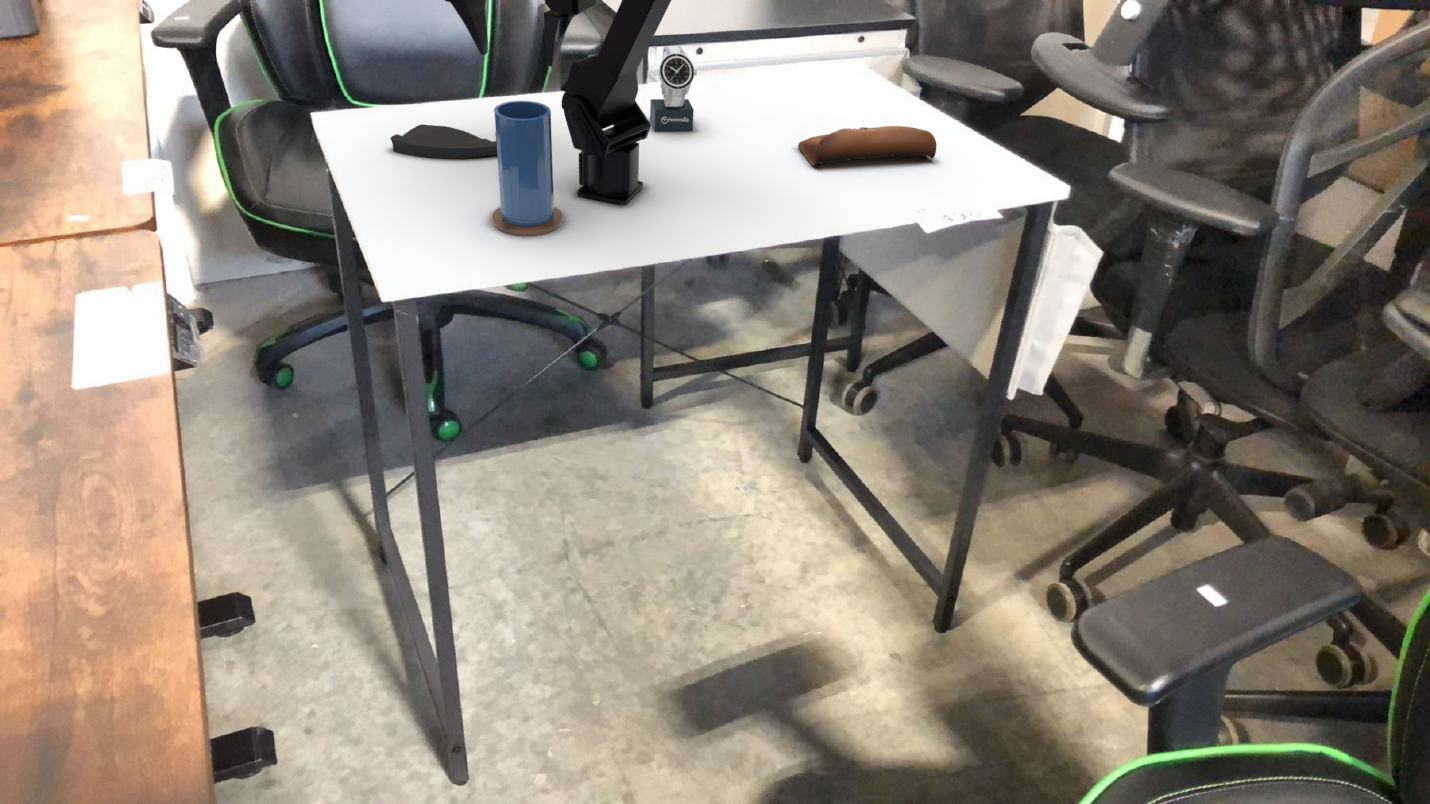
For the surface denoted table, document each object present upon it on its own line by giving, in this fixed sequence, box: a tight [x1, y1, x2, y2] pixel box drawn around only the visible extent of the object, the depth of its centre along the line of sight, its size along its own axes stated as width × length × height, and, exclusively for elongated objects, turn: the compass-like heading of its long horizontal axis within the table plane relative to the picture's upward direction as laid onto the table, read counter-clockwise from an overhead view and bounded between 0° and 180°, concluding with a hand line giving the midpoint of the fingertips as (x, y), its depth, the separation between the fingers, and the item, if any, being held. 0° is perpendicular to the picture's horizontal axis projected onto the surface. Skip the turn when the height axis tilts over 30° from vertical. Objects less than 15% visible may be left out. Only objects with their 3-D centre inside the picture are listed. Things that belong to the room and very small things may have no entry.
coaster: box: [491, 206, 563, 237], centre depth 115 cm, size 8×8×1 cm
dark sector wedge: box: [389, 123, 497, 159], centre depth 131 cm, size 8×14×2 cm, turn 74°
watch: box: [649, 46, 698, 132], centre depth 140 cm, size 6×8×11 cm
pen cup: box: [493, 100, 555, 227], centre depth 111 cm, size 6×6×12 cm
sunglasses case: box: [797, 125, 937, 167], centre depth 138 cm, size 18×7×7 cm
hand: (518, 60), depth 122 cm, fingers open, 9 cm apart
